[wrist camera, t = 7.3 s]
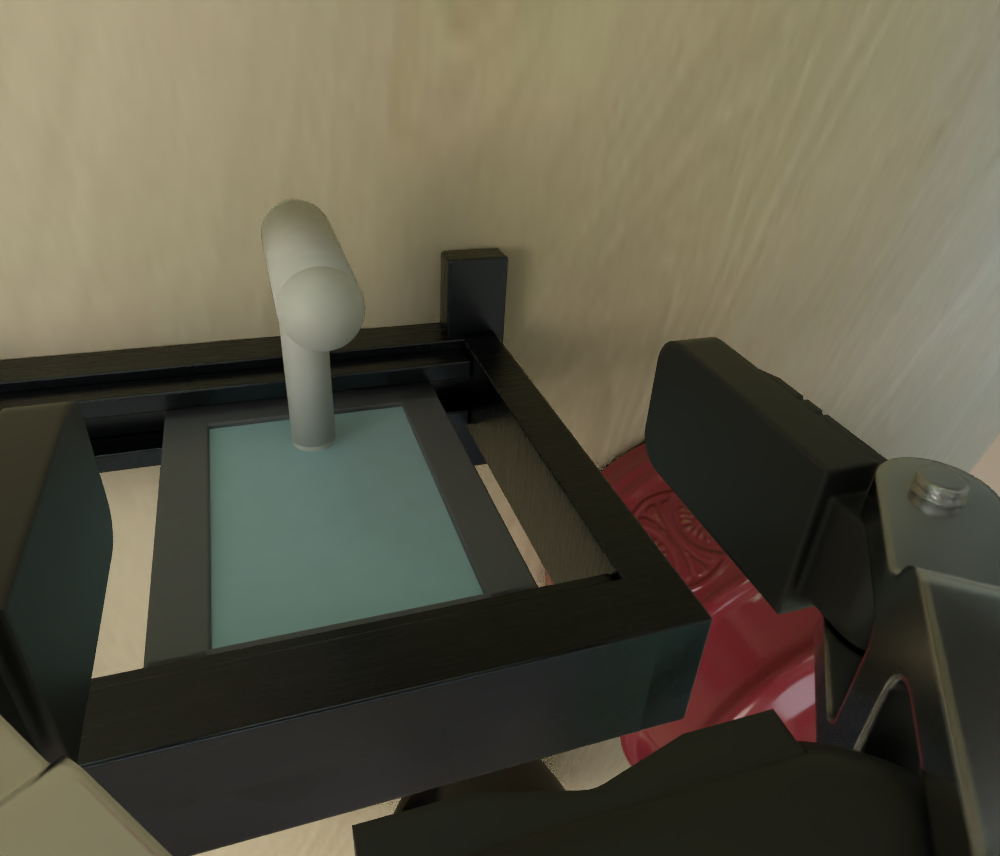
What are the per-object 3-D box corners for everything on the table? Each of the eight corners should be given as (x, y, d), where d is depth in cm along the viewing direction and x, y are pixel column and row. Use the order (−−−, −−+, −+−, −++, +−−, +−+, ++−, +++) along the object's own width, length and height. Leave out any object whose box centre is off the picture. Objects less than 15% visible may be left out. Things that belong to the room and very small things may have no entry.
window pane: (430, 163, 21) (596, 318, 12) (430, 395, 24) (554, 640, 16) (113, 170, 18) (30, 369, 9) (168, 426, 22) (145, 734, 13)
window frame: (499, 247, 24) (764, 511, 13) (488, 449, 29) (680, 785, 17) (-200, 286, 19) (-841, 815, 7) (-86, 530, 23) (-378, 1111, 11)
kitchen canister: (585, 675, 38) (807, 1095, 24) (494, 514, 30) (743, 996, 16) (801, 554, 39) (1141, 895, 25) (766, 365, 31) (1232, 706, 17)
